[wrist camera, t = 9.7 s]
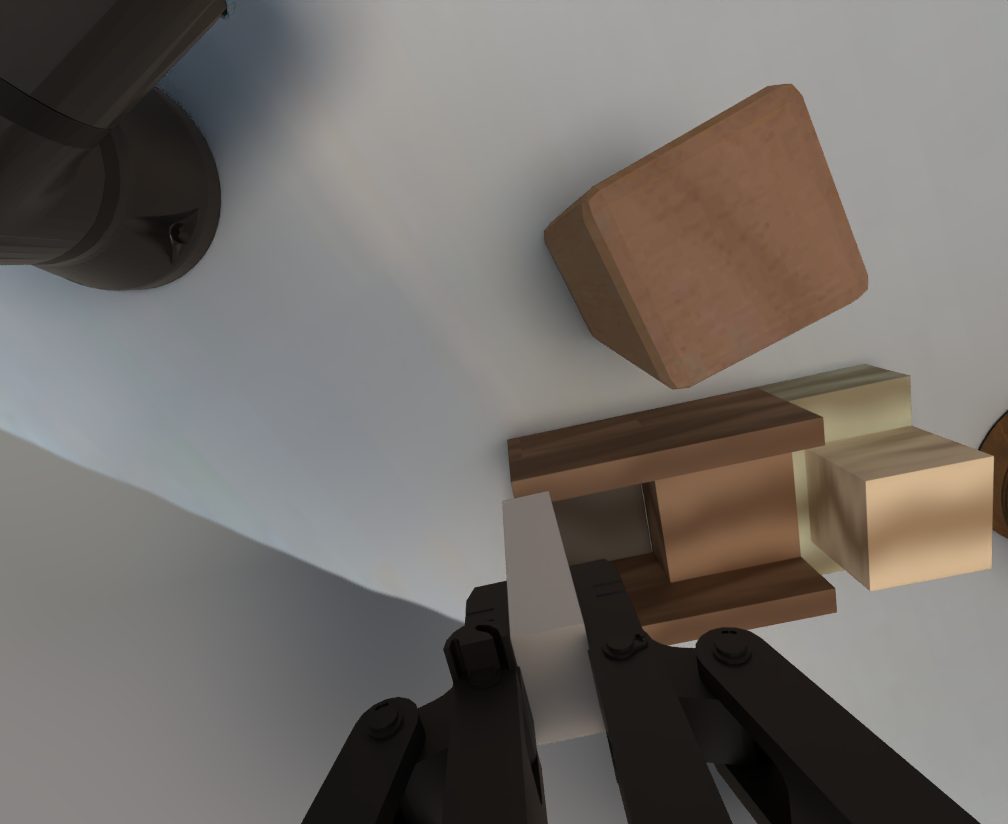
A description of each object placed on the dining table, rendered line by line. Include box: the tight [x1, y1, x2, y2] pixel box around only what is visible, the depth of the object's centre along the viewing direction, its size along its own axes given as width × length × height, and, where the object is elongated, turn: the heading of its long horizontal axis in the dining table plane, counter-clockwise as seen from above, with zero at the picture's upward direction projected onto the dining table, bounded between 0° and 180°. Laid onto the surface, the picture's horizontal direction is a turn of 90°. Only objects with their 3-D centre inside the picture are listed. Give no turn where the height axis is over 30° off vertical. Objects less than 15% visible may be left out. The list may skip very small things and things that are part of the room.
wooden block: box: [544, 84, 868, 389], centre depth 33 cm, size 10×10×20 cm
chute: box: [507, 364, 912, 645], centre depth 43 cm, size 15×30×10 cm, turn 102°
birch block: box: [805, 426, 994, 591], centre depth 39 cm, size 8×8×7 cm
